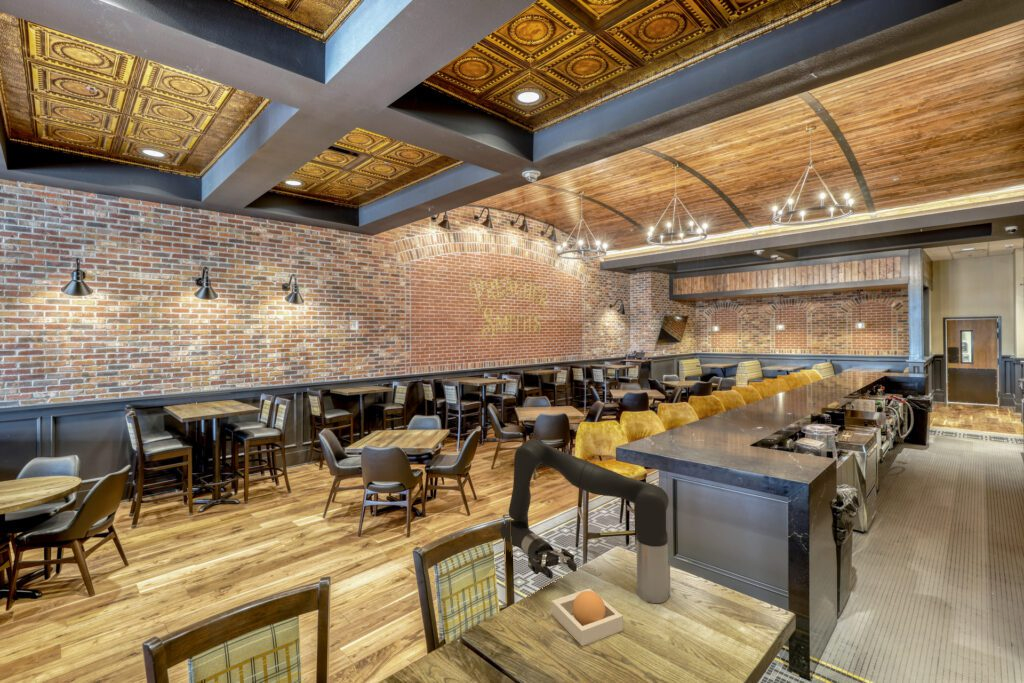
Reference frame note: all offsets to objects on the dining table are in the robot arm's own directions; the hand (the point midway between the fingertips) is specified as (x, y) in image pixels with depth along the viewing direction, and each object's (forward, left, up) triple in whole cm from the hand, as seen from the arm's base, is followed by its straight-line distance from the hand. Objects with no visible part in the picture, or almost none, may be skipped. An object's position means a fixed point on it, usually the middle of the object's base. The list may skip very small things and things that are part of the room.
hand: (563, 572), depth 136 cm
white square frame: (0, +11, -9) cm, 14 cm away
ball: (0, +13, -4) cm, 13 cm away
